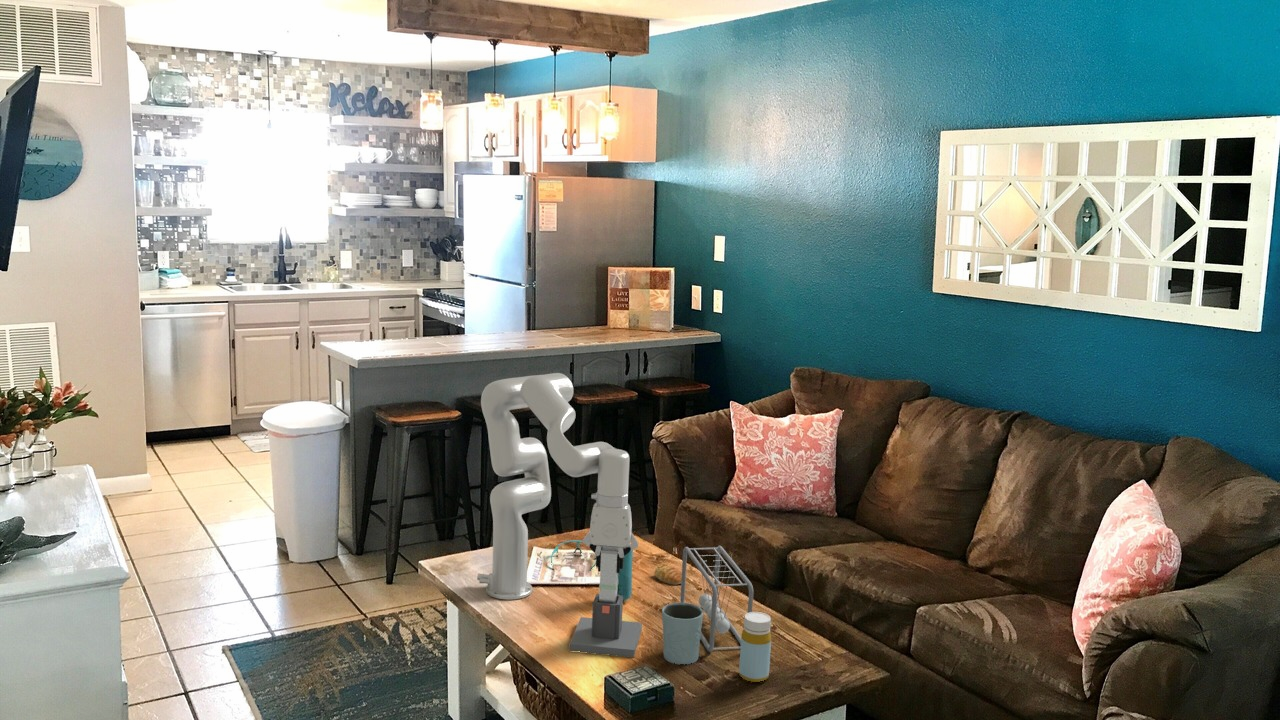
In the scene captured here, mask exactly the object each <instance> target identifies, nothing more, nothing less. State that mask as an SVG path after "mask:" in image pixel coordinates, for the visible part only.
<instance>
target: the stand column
mask: <svg viewBox="0 0 1280 720" xmlns="http://www.w3.org/2000/svg"><path fill="white" fill-rule="evenodd" d="M618 554H619V552H618V547H607V546H602V548H601V566H600V572H599V574H600V575H599V585H598V589H599V593H598V594H599V602H601V603H613V604H617V590H618V573H617V558H618Z"/></svg>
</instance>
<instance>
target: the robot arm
mask: <svg viewBox="0 0 1280 720" xmlns="http://www.w3.org/2000/svg"><path fill="white" fill-rule="evenodd" d="M573 385H574V384H573V382H572V381H571V380H570V378H569V377H568V376H567V375H565V374H564V373H561V372H555V373H553V372H552V373H546V374H537V375H525V376H518V377H509V378H503V379H497V380H494V381H492V382H490V383H488V384H487V385H485V387H484V389H483V391H482V393H481V397H480V407H481V410H482V414H483V417H484V418H483V419H485V423H486V429H487V434H488V435H487V436H488V445H489V451H490V452H489V453H490V460H491V467H492V469H493V471H494V473H495V474H496V475H497V476H499V477H510V476H516V475H521V474H522V475H523V474H524V477H523V478H522V477H521V478H515V479H512V480H508V481H504V482H503V481H502V482H501V483H499V484H497V485H496V486H494V488H493V489H492V490H491V492H490V496H489V500H490V501H489V502H490V508H491V514H492V521H493V522H492V526H493V527H492V529H493V530H492V573H489V574H485V573H479V572H478V574H477V578H476V579H477V581H479V584H485V585H486V584H487V585H486V593H487V594H488V595H489V596H490V597H493V598H494V599H499V600H505V601H506V600H508V601H509V600H510V601H511V600H520V599H524V598H526V597H528V596H529V595H531V593H532V592H533V586H532V584H531V583H529V582H528V580H527V579H528V551H529V550H528V547H529V546H528V544H529V533H528V532H529V530H528V527H527V524H526V523H525V521H524V519H523V517H522V515H524V514H527V513H530V512H531V513H532V512H535V511H540V510H543V509H545V508H546V507H547V506H548V505H549V504H550V502H551V499H552V498H551V497H552V487H551V486H552V485H551V478H550V469H549V468H550V467H549V461H548V454H547V450H546V448H545V446H544V445H543V443H542V442H541V441H540V440H539V439H537V438H536V437H530V436H529V437H523V438H521V434H520V426H519V422H518V421H517V419H516V417H515V416H514V414H512V413H511V412H510V411H512V410H518V409H519V410H520V409H527V408H529V409H530V410H531V412H532V413H533V414H534V416H535V417H536V418H537V419H538V420H539V421H540V423H541V424H542V425H543V426H544V427H545V428H546V430H547V435H546V442H547V448H548V452H549V454H550V457H551V458H552V459H553V462H555V464H556V465H557V466H558V467H559V468H560V469H561V470H562V471H563V472H564V473H565V474H566V475H568V476H570V477H572V478H579V477H583V476H589V475H592V474H593V475H594V474H597V492H595V493H591V495H590V496H591V500H594V501H596V502H594V504H593V507H592V510H591V516H590V524H589V526H590V527H589V531H588V533H586V535H585V536H584V538H583V539H582V541H583V544H584V545H586V547H589V549H590V550H591V551H592V552H593V553H594V556H595V557H596V560H595V562H596V565H595V567H596V568H597V572H599V573H600V566H601V548H602V546H607V547H618V552H619V554H618V558H617V573H620V570H621V569H623V562H624V556H625V555H626V554H628V553H629V552H630V551H631V550H633V551H634V550H635V549H637V548H638V547H639V545H640V544H639V542H638V540H637V539H636V537H635V535H634V533H633V528H632V527H633V522H632V511H631V506H630V504H629V503H628V502H629V501H628V500H629V479H630V454H629V453H628V451H626V450H623V449H619V448H616V447H613V446H612V445H611V444H609V443H608V442H606V441H605V442H604V441H596V442H589V443H584V444H580V445H572V443H571V442H570V441H569V440H568V439H567V437H566V436H565V435H564V433H565V432H566V431H568V430H569V429H570V427H571V426H572V425H573V424H574V422H575V419H576V411H575V409H574V407H572V405H570V401H571V400H572V398H573V396H574V386H573ZM629 544H630V545H629Z"/></svg>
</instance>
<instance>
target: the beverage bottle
mask: <svg viewBox="0 0 1280 720" xmlns="http://www.w3.org/2000/svg"><path fill="white" fill-rule="evenodd" d="M630 544H631V543H630ZM630 544H629V545H630ZM633 556H634V549H633V550H631V551H630V552H629V553H628V554H626V555H625V556H624V562H623V569H621V570H620V573H618V590H617V595H619V596H623V601H627V600H629V599H631V596H632V591H633V590H632V587H633V585H632V584H633V559H634V558H633Z"/></svg>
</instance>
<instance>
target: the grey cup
mask: <svg viewBox="0 0 1280 720" xmlns="http://www.w3.org/2000/svg"><path fill="white" fill-rule="evenodd" d="M661 615H662V616H661V618H662V638H663V640H662V642H663V643H662V644H663V648H662V650H663V658H664V660H665V661H667V662H669V663H670V664H674V663H675V665H680V664H684V665H685V664H687V665H692V664H695V663H697V662H698V660H699V655H700V643H701V642H700V641H701V639H700V634H701V632H702V627H703V621H704V620H703V619H704V610H703V608H700V607H698V605H696V604H692V603H687V602H685V603H681V602H673V603H669V604H666V605H664V606H663V607H662V610H661ZM691 663H692V664H691ZM684 665H683V666H684ZM685 666H686V665H685Z"/></svg>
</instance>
